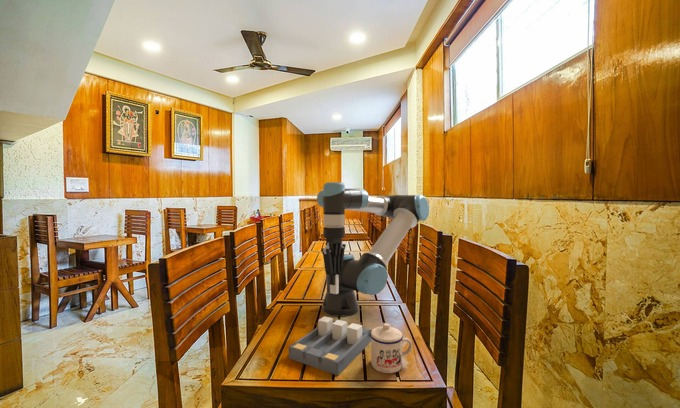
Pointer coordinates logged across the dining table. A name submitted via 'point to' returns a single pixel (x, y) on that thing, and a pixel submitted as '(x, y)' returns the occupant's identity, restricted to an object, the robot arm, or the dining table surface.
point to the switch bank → (328, 350)
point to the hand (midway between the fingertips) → (334, 293)
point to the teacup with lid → (387, 349)
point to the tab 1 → (324, 325)
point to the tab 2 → (339, 329)
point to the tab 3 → (354, 333)
